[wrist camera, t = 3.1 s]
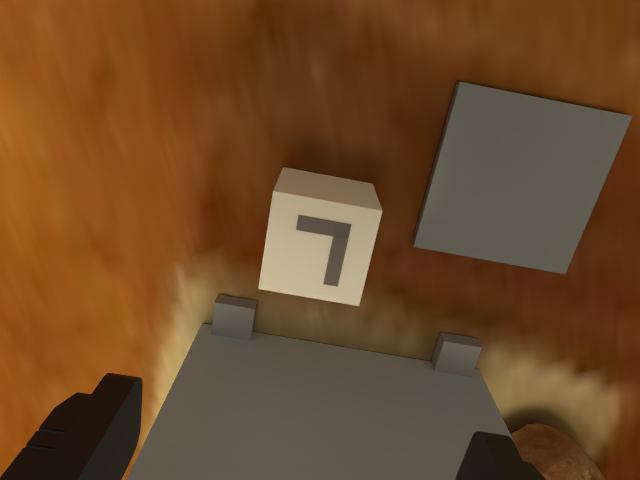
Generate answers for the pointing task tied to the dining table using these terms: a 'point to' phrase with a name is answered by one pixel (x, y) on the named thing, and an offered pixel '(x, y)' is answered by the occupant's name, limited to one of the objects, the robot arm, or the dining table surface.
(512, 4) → the dining table surface
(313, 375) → the screen
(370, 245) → the letter cube
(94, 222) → the dining table surface
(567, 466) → the bread roll
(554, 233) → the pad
